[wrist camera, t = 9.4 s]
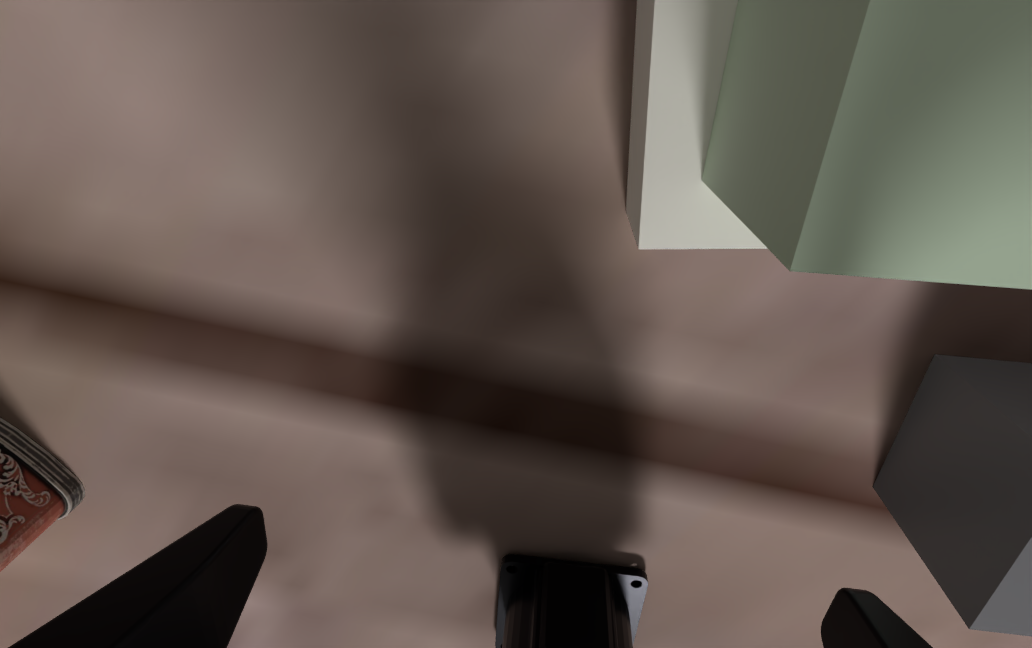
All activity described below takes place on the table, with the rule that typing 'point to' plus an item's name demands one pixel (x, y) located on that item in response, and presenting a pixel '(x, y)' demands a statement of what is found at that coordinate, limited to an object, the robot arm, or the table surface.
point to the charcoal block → (969, 487)
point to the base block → (678, 126)
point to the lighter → (30, 491)
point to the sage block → (881, 137)
